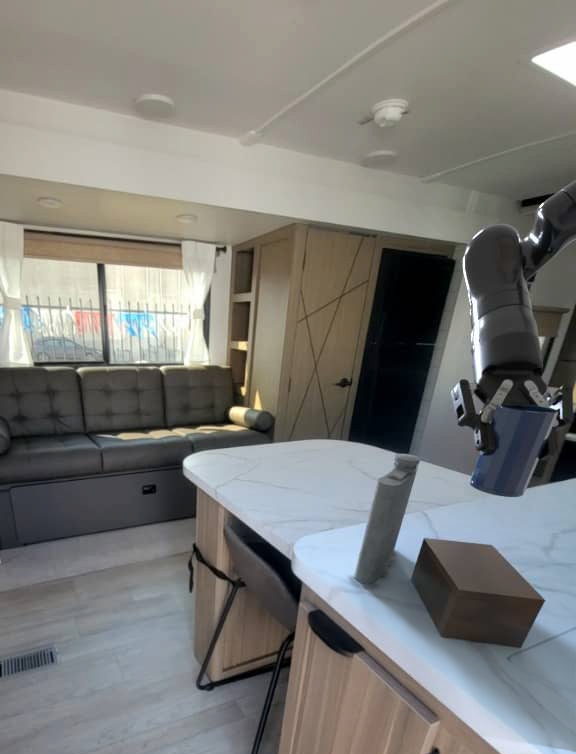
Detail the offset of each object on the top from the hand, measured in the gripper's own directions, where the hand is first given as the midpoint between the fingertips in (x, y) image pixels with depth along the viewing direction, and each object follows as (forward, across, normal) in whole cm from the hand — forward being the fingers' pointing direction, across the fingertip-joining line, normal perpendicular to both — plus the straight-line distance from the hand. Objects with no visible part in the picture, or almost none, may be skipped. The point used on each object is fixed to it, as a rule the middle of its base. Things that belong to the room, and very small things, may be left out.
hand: (517, 454), depth 52 cm
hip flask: (+10, -10, +24) cm, 28 cm away
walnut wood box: (+18, 0, +16) cm, 24 cm away
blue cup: (+3, 0, +5) cm, 6 cm away
